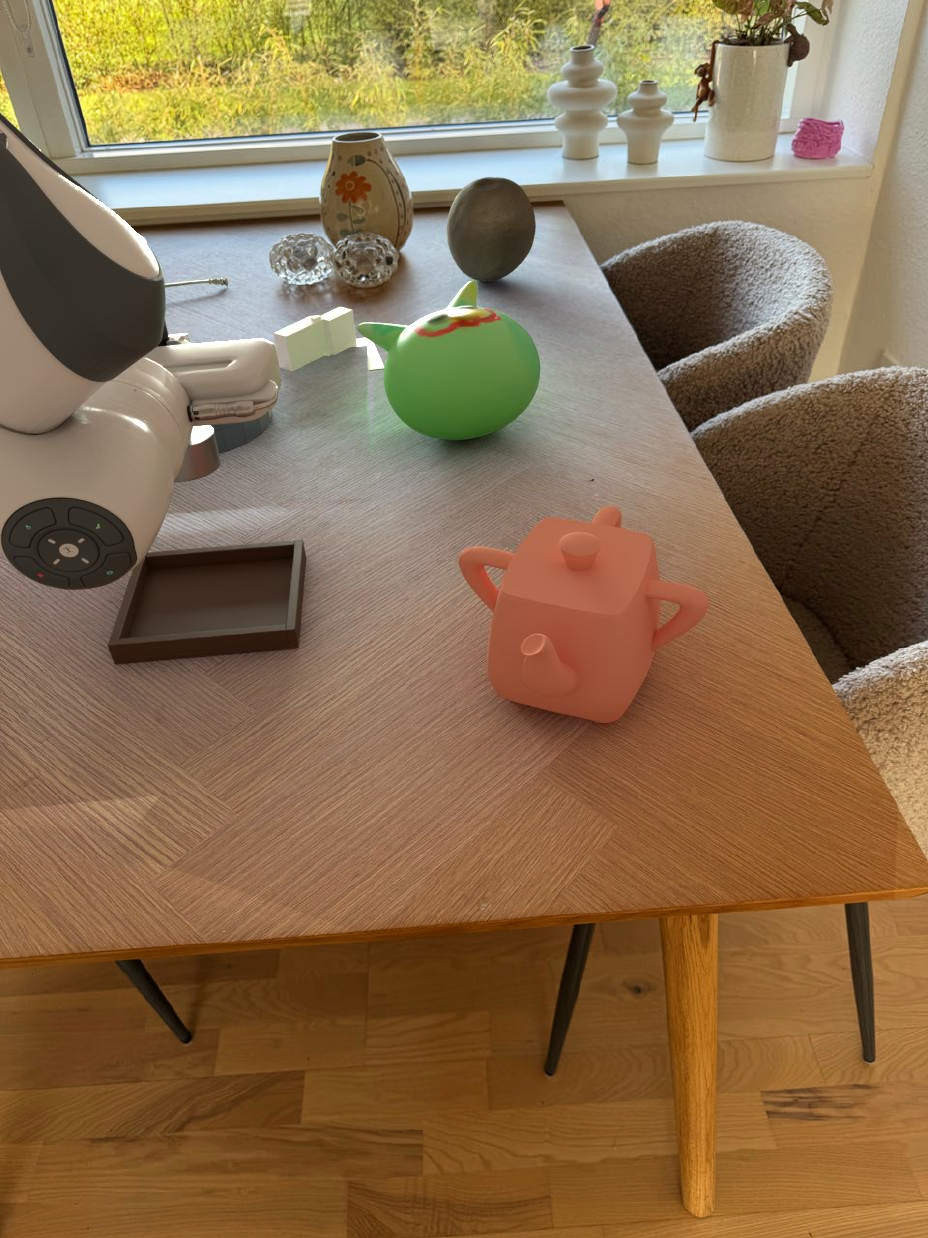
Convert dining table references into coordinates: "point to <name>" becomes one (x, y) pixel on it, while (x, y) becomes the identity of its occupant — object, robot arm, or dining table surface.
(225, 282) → the soupspoon
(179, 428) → the robot arm
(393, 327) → the green cartoon toy
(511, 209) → the grey stone egg
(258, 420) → the bowl
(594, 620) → the teapot
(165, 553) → the tray
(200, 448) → the ladle
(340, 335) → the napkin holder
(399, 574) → the dining table surface
